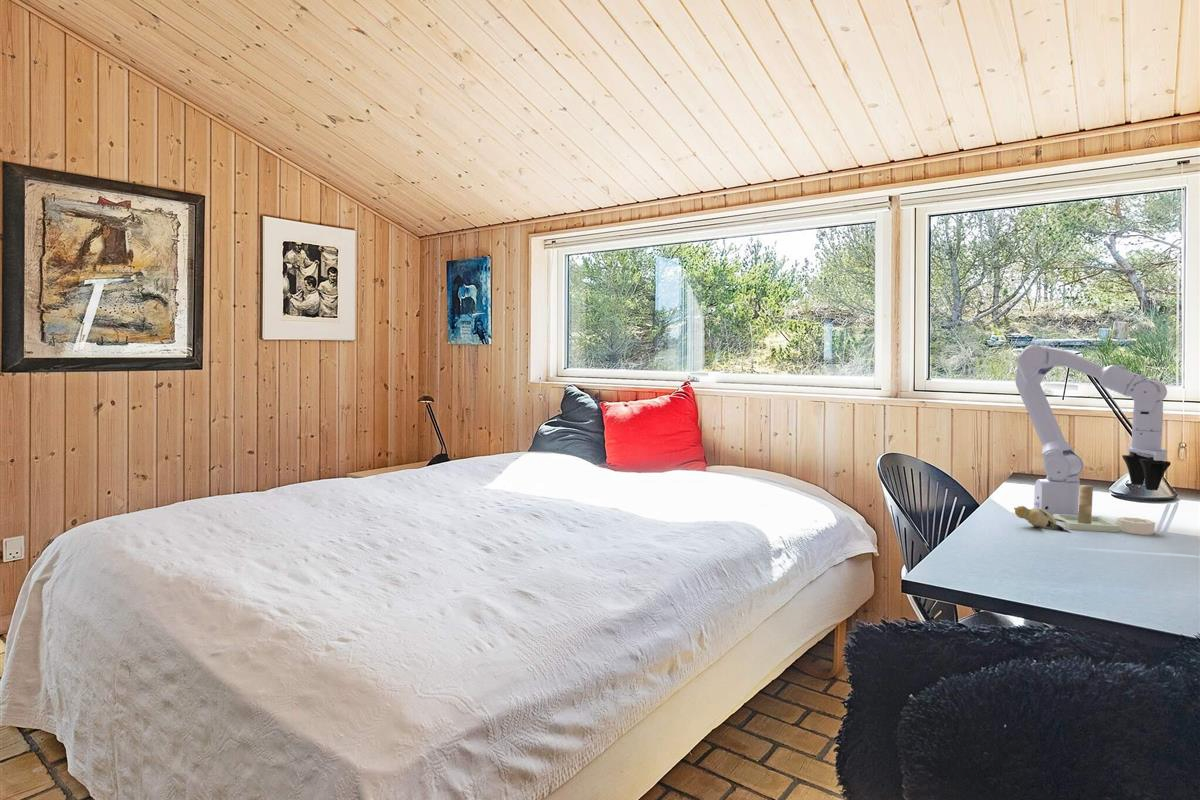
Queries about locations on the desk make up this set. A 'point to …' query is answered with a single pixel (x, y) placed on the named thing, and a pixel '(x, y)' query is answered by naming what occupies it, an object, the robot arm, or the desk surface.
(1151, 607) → the desk surface
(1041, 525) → the decorative bird model
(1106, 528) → the tray
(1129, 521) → the pin cup
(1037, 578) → the desk surface
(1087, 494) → the dowel pin
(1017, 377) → the robot arm
